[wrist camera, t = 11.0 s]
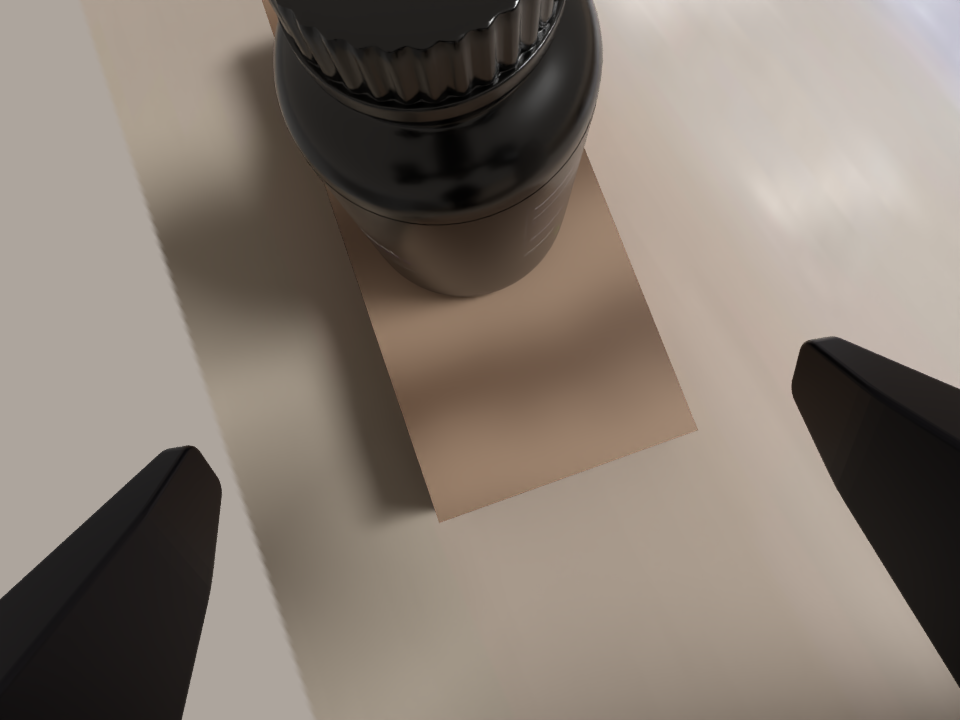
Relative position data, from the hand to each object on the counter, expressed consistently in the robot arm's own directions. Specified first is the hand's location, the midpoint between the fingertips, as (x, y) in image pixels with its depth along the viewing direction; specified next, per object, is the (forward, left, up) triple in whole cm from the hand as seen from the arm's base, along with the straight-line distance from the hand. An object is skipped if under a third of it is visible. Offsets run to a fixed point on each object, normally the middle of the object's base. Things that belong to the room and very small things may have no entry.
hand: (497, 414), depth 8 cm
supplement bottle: (+7, +3, -11) cm, 13 cm away
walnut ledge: (+7, +3, -14) cm, 16 cm away
